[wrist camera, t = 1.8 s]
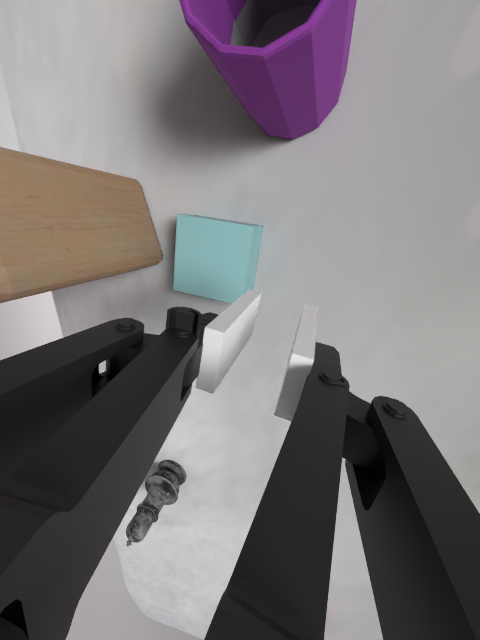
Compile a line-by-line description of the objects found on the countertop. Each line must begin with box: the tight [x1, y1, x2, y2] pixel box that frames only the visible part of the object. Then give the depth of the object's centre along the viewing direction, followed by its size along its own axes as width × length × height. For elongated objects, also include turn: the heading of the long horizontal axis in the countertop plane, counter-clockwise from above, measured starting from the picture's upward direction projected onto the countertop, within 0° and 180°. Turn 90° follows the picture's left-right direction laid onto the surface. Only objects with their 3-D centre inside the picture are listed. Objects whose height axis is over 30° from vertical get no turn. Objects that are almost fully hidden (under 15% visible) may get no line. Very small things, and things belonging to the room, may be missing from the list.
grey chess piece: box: [126, 460, 186, 546], centre depth 42 cm, size 6×6×12 cm
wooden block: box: [0, 147, 163, 303], centre depth 26 cm, size 10×10×20 cm
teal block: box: [173, 214, 263, 303], centre depth 31 cm, size 8×8×5 cm
